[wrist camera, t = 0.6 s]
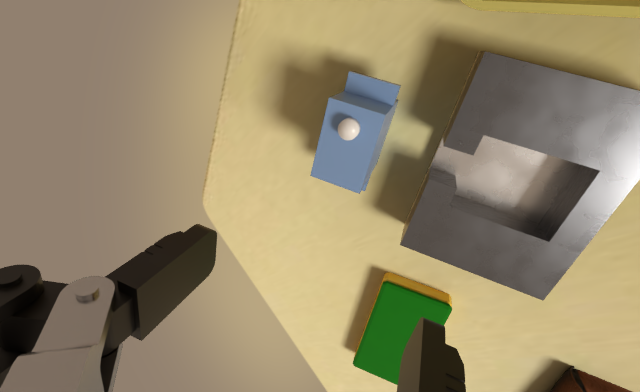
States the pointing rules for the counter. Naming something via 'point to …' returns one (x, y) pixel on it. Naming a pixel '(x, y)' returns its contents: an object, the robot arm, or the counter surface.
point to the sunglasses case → (584, 383)
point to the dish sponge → (397, 323)
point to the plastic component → (562, 7)
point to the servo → (355, 131)
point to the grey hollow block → (526, 172)
